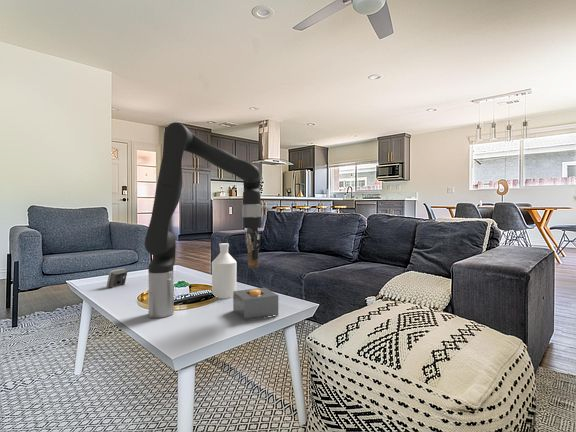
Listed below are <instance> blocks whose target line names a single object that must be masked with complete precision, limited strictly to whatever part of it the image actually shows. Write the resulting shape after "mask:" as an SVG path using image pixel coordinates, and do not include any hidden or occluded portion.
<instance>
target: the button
mask: <svg viewBox="0 0 576 432" xmlns="http://www.w3.org/2000/svg"><path fill="white" fill-rule="evenodd" d="M253 289H254V290H250V296H254V295H261V290H258V289H257V288H253Z"/></svg>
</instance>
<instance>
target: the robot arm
mask: <svg viewBox="0 0 576 432" xmlns="http://www.w3.org/2000/svg"><path fill="white" fill-rule="evenodd" d="M184 151H185V152H188V153H190V154H193V155H196V156H198V157H200V158H202V159H204V160H205V161H206V162H208V163H210V164H212V165H213V166H216V167H217V168H218V169H221V170H222V171H225V172H226V173H229V174H233V175H234V176H236V177H238V178H239V179H241V180H242V181H243V182H242V183H243V191H242V211H241V213H242V228H243V229H246V232H244V241H245V247H246V248H247V249H248V237H249V239H250V245H251V246H252V260H258V261H259V250H261V243H262V234H260V233H259V229H261V228H262V227H263V225H262V222H263V221H262V220H263V219H262V201H261V199H262V198H261V190H260V189H261V173H260V170H259V167H257V166H256V165H254V164H252V163H250V162H248V161H246V160H244V159H240V158H238V157H237V156H236V155H234V154H232V153H230V152H228V151H226V150H224V149H222V148H219V147H218V146H215V145H212V144H210V143H208V142H206V141H204V140H203V139H201V138H200V137H198V136H197V135H195V134H194V133H193V132H191V130H190V129H189V128H188V127H186V126H185V124H182V123H180V122H177V121H175V122H174V121H173V122H172V123H170V124H168V125H167V126H166V128H165V130H164V134H163V146H162V157H161V163H160V167H159V171H158V172H159V173H158V178H157V182H156V187H155V193H154V200H153V205H152V206H153V207H152V210H151V211H152V212H151V217H150V221H149V225H148V227H147V231H146V235H145V239H144V248H145V250H146V252H147V253H148V254H150V255H152V260H151V261H150V262H149V264H148V267H147V268H148V269H147V271H148V272H147V273H148V290H147V295H148V296H147V297H148V298H147V300H148V303H147V304H148V309H147V310H148V311H147V312H148V313H147V314H148V318H149V319H151V318H155V319H156V318H157V319H159V318H165V317H166V318H167V317H169V316H172V315H174V312H175V310H174V309H175V306H174V301H175V300H174V299H175V298H174V297H175V296H174V295H175V293H174V291H175V290H174V289H175V288H174V285H175V284H174V282H175V281H174V266H175V262H176V247H177V246H176V244H177V243H176V242H177V241H176V238H175V235H174V234H173V232H171V231H169V228H170V227H169V226H170V222H171V219H172V217H173V215H174V213H175V211H176V209H177V207H178V205H179V202H180V199H181V195H182V188H183V169H182V166H183V165H182V163H183V162H182V161H183V160H182V159H183V156H184ZM252 241H254V242H252Z"/></svg>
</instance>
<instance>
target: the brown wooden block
mask: <svg viewBox="0 0 576 432" xmlns="http://www.w3.org/2000/svg"><path fill="white" fill-rule="evenodd" d="M252 242H254V241H252ZM247 266H248V267H247V268H249V269H250V268H251V269H256V268H259V259H258V260H252V246H251V245H250V239H249V237H248V248H247Z"/></svg>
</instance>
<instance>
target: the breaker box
mask: <svg viewBox="0 0 576 432" xmlns="http://www.w3.org/2000/svg"><path fill="white" fill-rule="evenodd" d="M254 289H255V288H250V289H242V290H241V289H240V290H236V291H233V297H232V298H233V301H232V303H233V312H234V313H235V314H236V315H238V317H239V318H240V319H242V320H243V322H246V321H253V320H260V319H265V318H264V317H267V318H269V317H268V316H273V315H278V316H279V294H277V293H275V292H274V291H272V290H270V289H268V288H266V287H259V288H256V289H258V290H261V295H254V296H250V290H254ZM273 317H274V316H273Z"/></svg>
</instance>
